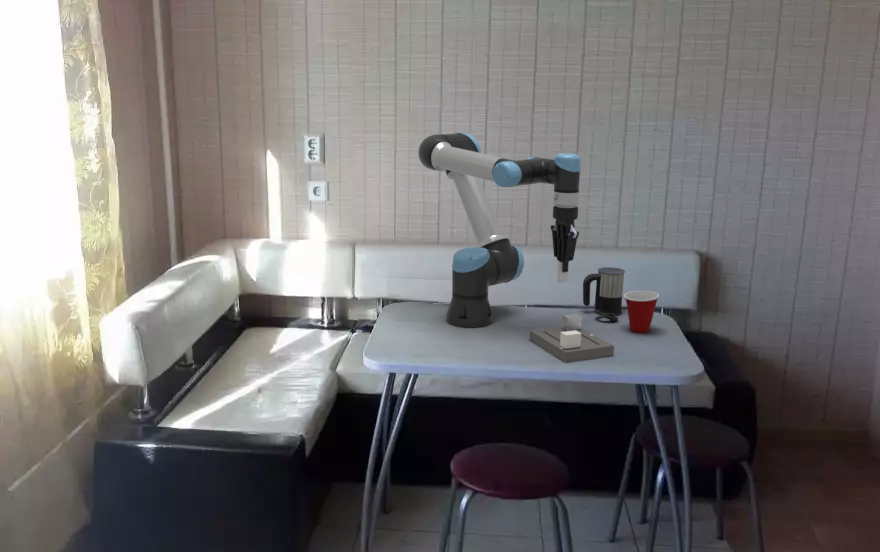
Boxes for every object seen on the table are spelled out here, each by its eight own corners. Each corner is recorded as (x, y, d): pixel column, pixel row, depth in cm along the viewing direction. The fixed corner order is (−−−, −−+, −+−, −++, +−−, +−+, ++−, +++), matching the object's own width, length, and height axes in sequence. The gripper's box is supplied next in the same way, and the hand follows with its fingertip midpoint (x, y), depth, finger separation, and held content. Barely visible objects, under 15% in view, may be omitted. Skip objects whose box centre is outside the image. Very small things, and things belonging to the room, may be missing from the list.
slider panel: (529, 339, 249) (529, 330, 249) (574, 334, 255) (575, 324, 255) (565, 362, 231) (565, 352, 230) (613, 355, 237) (614, 345, 236)
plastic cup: (618, 324, 265) (621, 289, 262) (652, 325, 265) (655, 290, 262) (623, 335, 255) (626, 298, 252) (659, 336, 254) (662, 299, 251)
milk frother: (612, 307, 285) (614, 265, 281) (640, 320, 271) (643, 276, 267) (577, 311, 279) (579, 269, 276) (603, 324, 265) (606, 280, 262)
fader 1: (561, 327, 250) (562, 315, 249) (575, 326, 252) (576, 313, 251) (567, 330, 248) (567, 318, 247) (581, 329, 250) (581, 316, 249)
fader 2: (559, 345, 234) (560, 332, 234) (575, 343, 236) (575, 330, 235) (565, 348, 232) (566, 335, 231) (580, 346, 234) (581, 333, 233)
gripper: (544, 203, 252) (541, 277, 257) (566, 209, 240) (562, 287, 246) (565, 201, 254) (561, 275, 260) (588, 208, 243) (584, 285, 248)
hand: (562, 281), depth 253 cm, fingers closed
